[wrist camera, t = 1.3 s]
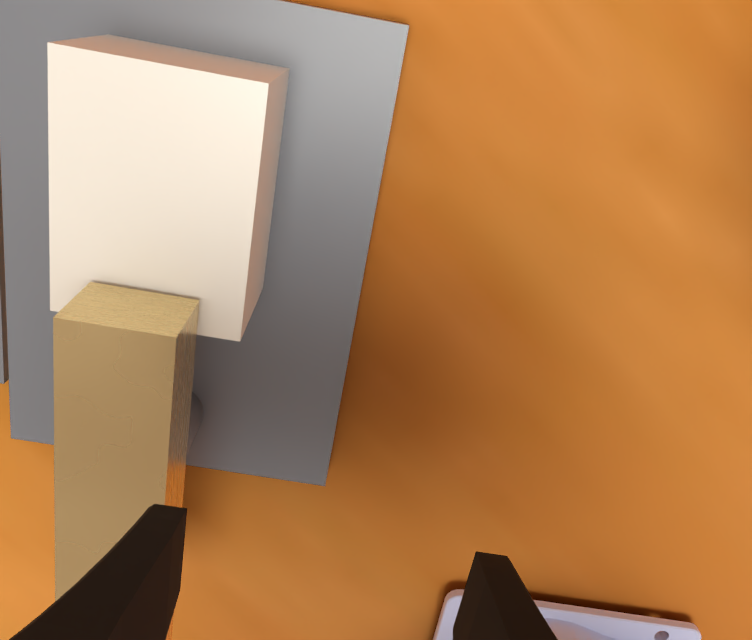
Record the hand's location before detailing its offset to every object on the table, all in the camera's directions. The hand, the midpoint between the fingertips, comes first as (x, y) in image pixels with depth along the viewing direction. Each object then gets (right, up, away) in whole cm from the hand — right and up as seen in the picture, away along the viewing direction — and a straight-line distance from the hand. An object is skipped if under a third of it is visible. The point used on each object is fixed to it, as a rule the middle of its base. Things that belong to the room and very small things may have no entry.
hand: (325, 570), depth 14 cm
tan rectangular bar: (-5, +1, +5) cm, 7 cm away
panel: (-4, +7, +7) cm, 11 cm away
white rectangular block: (-4, +9, +5) cm, 11 cm away
